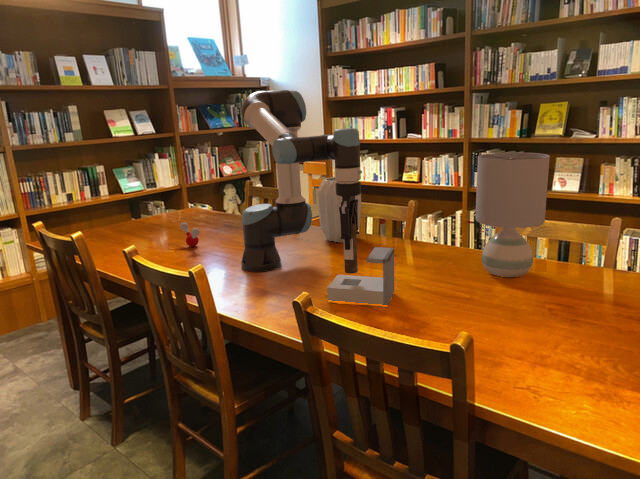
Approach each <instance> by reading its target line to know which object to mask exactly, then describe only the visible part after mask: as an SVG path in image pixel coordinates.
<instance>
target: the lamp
mask: <svg viewBox="0 0 640 479" xmlns="http://www.w3.org/2000/svg"><path fill="white" fill-rule="evenodd" d="M550 157H551V155H549V154H545V153H539V152H537V153H536V152H491V153H484V154H480V155H478V156H477V166H476V167H477V169H476V194H475V195H476V198H475V216H474V217H475V221H476V222H477V223H480V224H482V225H486V226H489V227H490V226H491V227H496V228H501V230H499V231H497V233H495V234H494V235H492V236H491V237H490V238H489V240H488V241H486V243H485V245H484V247H483V250H482V253H481V261H482V265H483V267H484V269H485V270H486V271H487V272H488V273H489V274H491V275H492V274H494V275H493V276H495V275H497V276H496V277H498V276H503V277H516V278H518V277H517V276H520V277H522V276H524V275H526V274H527V273H528V272H530V270H531V268H532V266H533V262H534V254H533V250H532V248H531V246H530V244H529V242H528V241H527V239H526V238H525V237H523V235H522V234H520V233H519V231H516V229H520V228H521V229H523V228H535V227H538V226H541V225H544V223H545V222H546V211H547V210H546V208H547V194H548V183H549V170H550Z"/></svg>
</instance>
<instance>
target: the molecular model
mask: <svg viewBox="0 0 640 479" xmlns="http://www.w3.org/2000/svg"><path fill="white" fill-rule="evenodd" d="M179 228H180V230H182V231H183V232H184V233H185V235H186V238H185V243H186V245H187V246H188V247H191V248H192V247H193V248H195V247H196V246H197V245H198V244H199V237H198V236H200V234H201V231H200V228H198V227H194V228H192V229H191V232H190V230H189V224H188V223H187V222H181V223H180V225H179Z"/></svg>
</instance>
